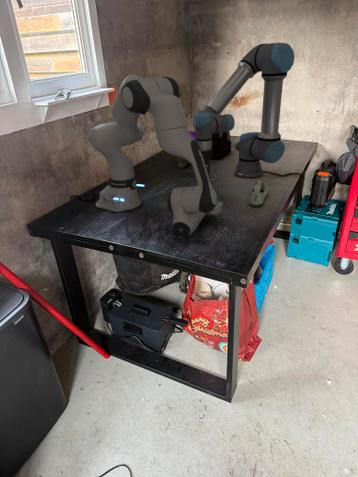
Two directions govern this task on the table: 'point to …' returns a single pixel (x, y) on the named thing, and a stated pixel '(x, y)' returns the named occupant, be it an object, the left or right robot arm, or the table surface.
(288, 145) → the table surface
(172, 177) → the table surface
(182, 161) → the boot
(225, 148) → the handbag
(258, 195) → the ballet flat
